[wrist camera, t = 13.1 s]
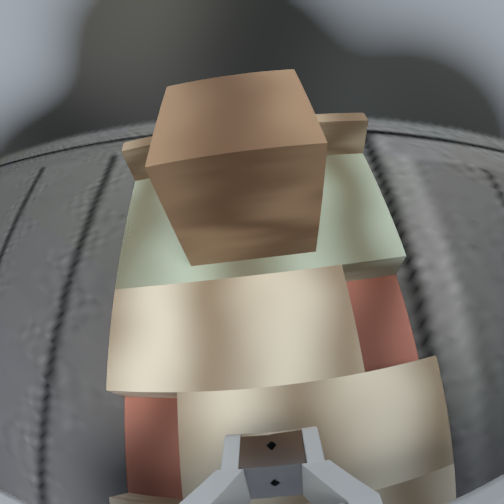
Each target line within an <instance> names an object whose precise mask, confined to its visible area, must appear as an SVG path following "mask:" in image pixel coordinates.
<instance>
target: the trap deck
mask: <svg viewBox="0 0 504 504" xmlns="http://www.w3.org/2000/svg"><path fill="white" fill-rule="evenodd" d="M315 115H316V117H317V119H318V122H319V124H320V126H321V129H322V131H323V133H324V136H325V138H326V140H327V143H328V144H327V156H326V167H325V177H324V187H323V197H322V206H321V215H320V223H319V231H318V239H317V247H316V252H308V253H300V254H292V255H283V256H275V257H267V258H258V259H250V260H241V261H232V262H224V263H215V264H206V265H198V266H191V265H190V263H189V261H188V259H187V257H186V255H185V253H184V251H183V248H182V246H181V244H180V242H179V240H178V238H177V236H176V234H175V232H174V230H173V228H172V226H171V224H170V221H169V219H168V217H167V215H166V213H165V211H164V209H163V206H162V204H161V202H160V200H159V198H158V196H157V193H156V191H155V189H154V187H153V185H152V182H151V180H150V178H149V176H148V173H147V171H146V169H145V164H146V160H147V156H148V152H149V148H150V144H151V140H152V137H153V136H152V137H147V138H142V139H138V140H134V141H130V142H125V143H124V145H123V148H122V151H121V152H122V154H123V156H124V158H125V160H126V162H127V165H128V167H129V169H130V171H131V173H132V175H133V177H134V179H135V185H134V190H133V194H132V198H131V203H130V207H129V212H128V217H127V222H126V227H125V232H124V237H123V243H122V248H121V254H120V260H119V266H118V272H117V279H116V286H115V293H114V301H113V310H112V318H111V328H110V339H109V351H108V366H107V385H106V390H107V391H109V392H112V393H115V394H118V395H121V396H124V397H125V454H126V473H127V487H128V493H124V494H120V495H116V496H112V497H109V502H110V504H179V503H180V502H181V501H183V500H184V499H185V498H186V497H187V496H188V495H189V494H190V493H192V492H193V491H194V490H195V489H196V488H197V487H198V486H199V485H200V484H202V483H203V482H204V481H205V480H206V479H207V478H208V477H209V476H210V475H211V474H212V473H213V472H214V471H215V470H221V462H222V454H223V446H224V438H225V436H226V435H234V434H253V433H269V432H277V431H286V430H294V429H301V428H307V427H314V426H316V427H317V428H318V432H319V436H320V441H321V445H322V449H323V454H324V458H325V460H331V461H332V462H333V463H335V464H336V465H338V466H339V467H340V468H342V469H343V470H345V471H346V472H347V473H349V474H350V475H352V476H353V477H355V478H356V479H358V480H359V481H361V482H362V483H364V484H365V485H367V486H368V487H370V488H371V489H373V490H374V491H376V492H377V493H379V494H380V497H381V500H382V503H383V504H445V503H447V502H449V501H452V500H454V499H456V483H455V469H454V458H453V448H452V440H451V432H450V425H449V419H448V412H447V406H446V401H445V395H444V390H443V385H442V380H441V375H440V370H439V366H438V361H437V357H436V355H435V356H431V357H428V358H424V359H420V360H419V358H418V353H417V349H416V345H415V341H414V337H413V333H412V329H411V325H410V321H409V317H408V314H407V310H406V307H405V303H404V300H403V296H402V293H401V289H400V286H399V283H398V280H397V276H396V273H397V272H398V270H399V268H400V266H401V265H402V263H403V261H404V259H405V257H406V254H405V251H404V248H403V245H402V243H401V240H400V237H399V235H398V232H397V230H396V227H395V225H394V222H393V220H392V217H391V215H390V212H389V210H388V208H387V205H386V203H385V201H384V198H383V196H382V194H381V191H380V189H379V187H378V185H377V182H376V180H375V178H374V176H373V174H372V172H371V169H370V167H369V165H368V163H367V161H366V159H365V157H364V155H363V149H364V143H365V138H366V132H367V126H368V119H367V118H366V116H365V114H364V113H334V114H315ZM249 504H311V503H310V502H309V501H308V500H307V499H306V498H305V497H304V496H303V495H295V496H283V497H272V498H261V499H251V502H250V503H249Z"/></svg>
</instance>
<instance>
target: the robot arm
mask: <svg viewBox="0 0 504 504" xmlns="http://www.w3.org/2000/svg"><path fill="white" fill-rule="evenodd" d="M295 495H303V496H304V497H305V498H306V499H307V500H308V501H309V502H310V503H311V504H383V503H382V500H381V497H380V494H379V493H377V492H376V491H374V490H373V489H371V488H370V487H368V486H367V485H365V484H364V483H362V482H361V481H359V480H358V479H356V478H355V477H353V476H352V475H350V474H349V473H347V472H346V471H345V470H343V469H342V468H340V467H339V466H338V465H336V464H335V463H333V462H332V461H331V460H325V458H324V454H323V449H322V445H321V441H320V436H319V432H318V428H317V427H316V426H314V427H307V428H301V429H294V430H286V431H277V432H269V433H253V434H234V435H226V436H225V438H224V446H223V454H222V462H221V470H215V471H214V472H213V473H212V474H211V475H210V476H209V477H208V478H207V479H206V480H205V481H204V482H203V483H202V484H200V485H199V486H198V487H197V488H196V489H195V490H194V491H193V492H192V493H190V494H189V495H188V496H187V497H186V498H185V499H184V500H183V501H181V502H180V503H179V504H249V503H250V502H251V499H261V498H272V497H283V496H295ZM0 504H30V503H28V502H26V501H23V500H21V499H19V498H17V497H15V496H13V495H10V494H8V493H6V492H4V491H2V490H1V489H0ZM445 504H504V474H502V475H501V476H499V477H497V478H495V479H494V480H492V481H490V482H488V483H486V484H485V485H483V486H481V487H479V488H477V489H475V490H473V491H471V492H469V493H467V494H465V495H463V496H460V497H458V498H456V499H454V500H452V501H449V502H447V503H445Z"/></svg>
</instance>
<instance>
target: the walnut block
mask: <svg viewBox="0 0 504 504" xmlns="http://www.w3.org/2000/svg"><path fill="white" fill-rule="evenodd" d="M327 144H328V143H327V140H326V138H325V136H324V133H323V131H322V129H321V126H320V124H319V122H318V119H317V117H316V115H315V113H314V111H313V108H312V106H311V104H310V102H309V99H308V97H307V95H306V93H305V91H304V89H303V87H302V85H301V82H300V80H299V78H298V76H297V74H296V72H295V70H294V69H290V70H276V71H264V72H255V73H245V74H238V75H230V76H223V77H216V78H210V79H204V80H199V81H193V82H188V83H182V84H177V85H173V86H168V87H167V89H166V92H165V95H164V98H163V101H162V105H161V108H160V112H159V115H158V118H157V122H156V126H155V129H154V133H153V137H152V140H151V144H150V148H149V152H148V156H147V160H146V164H145V169H146V171H147V173H148V176H149V178H150V180H151V182H152V185H153V187H154V189H155V191H156V193H157V196H158V198H159V200H160V202H161V204H162V206H163V209H164V211H165V213H166V215H167V217H168V219H169V221H170V224H171V226H172V228H173V230H174V232H175V234H176V236H177V238H178V240H179V242H180V244H181V246H182V248H183V251H184V253H185V255H186V257H187V259H188V261H189V263H190V265H191V266H198V265H206V264H215V263H224V262H232V261H241V260H250V259H258V258H267V257H275V256H283V255H292V254H300V253H308V252H316V247H317V239H318V231H319V223H320V215H321V206H322V197H323V187H324V177H325V167H326V156H327Z"/></svg>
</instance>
